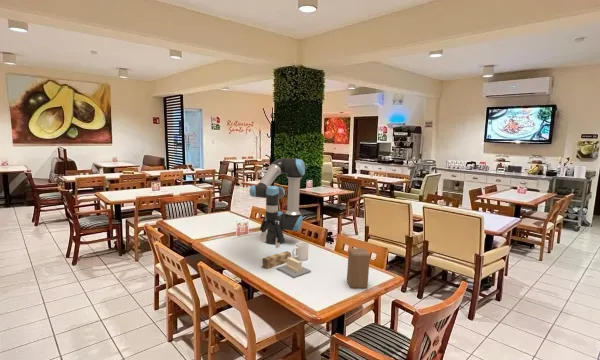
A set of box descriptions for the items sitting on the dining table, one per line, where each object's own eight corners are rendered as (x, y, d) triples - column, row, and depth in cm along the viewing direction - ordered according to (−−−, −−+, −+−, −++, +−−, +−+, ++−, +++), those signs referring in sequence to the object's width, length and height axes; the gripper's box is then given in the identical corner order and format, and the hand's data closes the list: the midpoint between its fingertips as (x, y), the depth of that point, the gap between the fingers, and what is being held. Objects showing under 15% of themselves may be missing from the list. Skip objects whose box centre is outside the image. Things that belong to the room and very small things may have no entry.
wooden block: (346, 280, 195) (348, 247, 192) (363, 280, 196) (365, 247, 193) (350, 288, 185) (352, 254, 182) (367, 288, 186) (370, 254, 183)
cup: (310, 259, 225) (311, 244, 224) (295, 262, 218) (296, 247, 217) (302, 255, 232) (303, 241, 230) (288, 258, 225) (289, 244, 223)
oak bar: (286, 259, 222) (286, 251, 222) (290, 261, 220) (290, 253, 219) (262, 267, 209) (262, 258, 208) (266, 269, 206) (266, 259, 205)
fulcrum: (293, 263, 216) (293, 253, 215) (311, 272, 204) (311, 261, 204) (276, 269, 206) (277, 258, 205) (294, 278, 195) (294, 266, 194)
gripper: (254, 208, 212) (253, 240, 215) (280, 216, 194) (278, 251, 197) (264, 206, 217) (263, 238, 220) (289, 214, 199) (288, 249, 202)
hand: (270, 244), depth 208 cm, fingers open, 13 cm apart
